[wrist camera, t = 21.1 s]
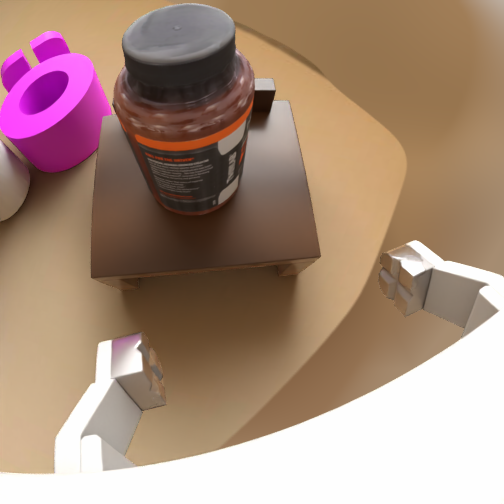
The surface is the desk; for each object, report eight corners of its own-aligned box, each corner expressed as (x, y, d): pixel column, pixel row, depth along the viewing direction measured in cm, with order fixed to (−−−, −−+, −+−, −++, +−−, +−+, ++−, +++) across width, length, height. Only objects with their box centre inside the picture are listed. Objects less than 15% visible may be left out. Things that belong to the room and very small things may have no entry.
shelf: (298, 274, 25) (334, 247, 17) (120, 290, 23) (73, 271, 15) (276, 141, 27) (296, 78, 19) (121, 155, 26) (92, 96, 18)
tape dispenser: (127, 131, 26) (109, 88, 20) (42, 191, 24) (8, 161, 18) (77, 57, 28) (63, 21, 22) (12, 102, 26) (-10, 72, 20)
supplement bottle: (257, 199, 19) (297, 61, 8) (164, 233, 18) (102, 114, 7) (222, 125, 20) (229, -18, 9) (139, 154, 19) (88, 18, 8)
